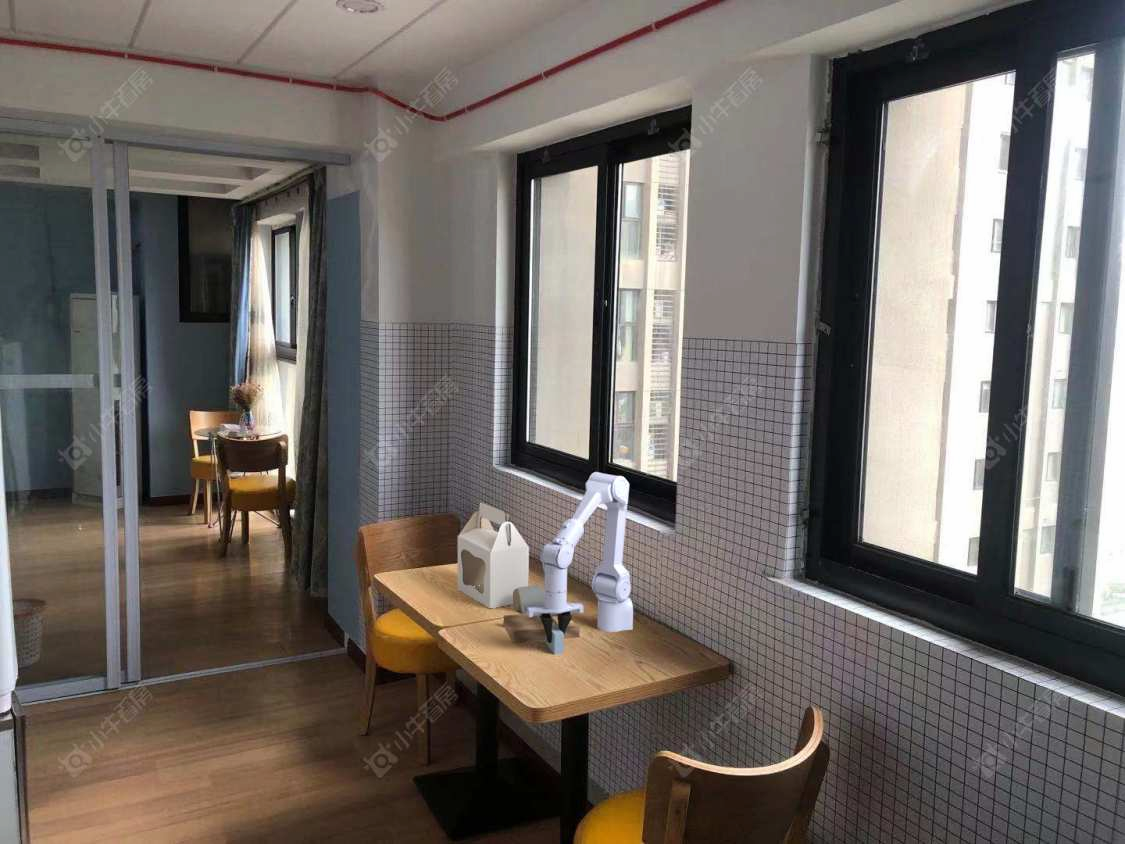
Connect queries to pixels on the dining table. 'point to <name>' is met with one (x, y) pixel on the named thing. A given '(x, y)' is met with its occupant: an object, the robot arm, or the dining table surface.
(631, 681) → the dining table surface
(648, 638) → the dining table surface
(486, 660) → the dining table surface
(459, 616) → the dining table surface
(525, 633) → the rack
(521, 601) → the ceramic mug
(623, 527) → the robot arm
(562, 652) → the block
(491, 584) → the gable box
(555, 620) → the offcut top
